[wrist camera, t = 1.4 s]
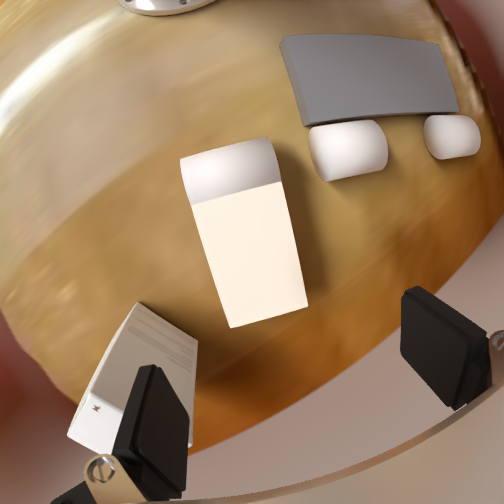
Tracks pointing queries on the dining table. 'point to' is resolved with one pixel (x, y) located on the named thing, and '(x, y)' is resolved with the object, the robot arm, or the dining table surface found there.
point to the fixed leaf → (372, 98)
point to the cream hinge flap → (245, 230)
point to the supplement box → (134, 376)
